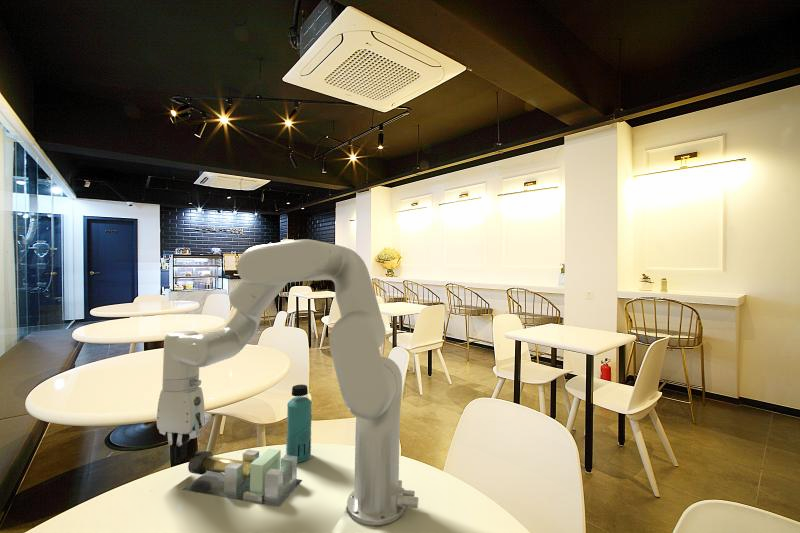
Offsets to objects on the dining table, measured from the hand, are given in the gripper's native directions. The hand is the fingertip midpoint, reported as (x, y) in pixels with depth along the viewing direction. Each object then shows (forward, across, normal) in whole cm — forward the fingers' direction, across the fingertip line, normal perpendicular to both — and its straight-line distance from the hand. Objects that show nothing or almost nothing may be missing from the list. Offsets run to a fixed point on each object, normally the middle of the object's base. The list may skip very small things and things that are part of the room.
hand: (178, 459), depth 85 cm
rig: (+4, -19, 0) cm, 20 cm away
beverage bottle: (+5, -24, -14) cm, 28 cm away
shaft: (+2, -13, 0) cm, 13 cm away
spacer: (+3, -24, 0) cm, 24 cm away
